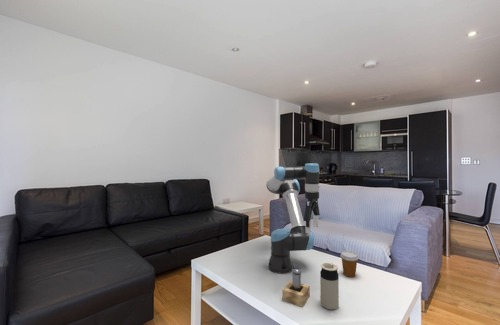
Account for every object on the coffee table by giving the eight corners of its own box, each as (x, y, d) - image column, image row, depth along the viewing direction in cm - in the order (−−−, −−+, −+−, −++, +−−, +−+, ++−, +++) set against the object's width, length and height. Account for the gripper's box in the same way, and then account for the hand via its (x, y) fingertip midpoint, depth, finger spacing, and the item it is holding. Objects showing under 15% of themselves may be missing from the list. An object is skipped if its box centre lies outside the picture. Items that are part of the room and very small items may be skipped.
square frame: (282, 299, 111) (282, 289, 111) (290, 290, 119) (290, 280, 119) (302, 306, 105) (302, 296, 105) (309, 295, 114) (309, 285, 114)
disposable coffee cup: (360, 279, 129) (360, 258, 129) (342, 277, 131) (342, 256, 131) (356, 271, 139) (355, 251, 139) (339, 270, 141) (339, 250, 140)
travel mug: (323, 310, 103) (323, 270, 103) (318, 299, 111) (318, 262, 111) (341, 310, 103) (341, 270, 103) (334, 299, 111) (334, 262, 111)
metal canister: (291, 298, 112) (290, 270, 112) (294, 294, 115) (294, 266, 115) (299, 301, 110) (299, 272, 109) (302, 297, 113) (302, 268, 113)
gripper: (311, 194, 114) (311, 237, 115) (324, 189, 136) (324, 225, 136) (297, 193, 118) (297, 234, 119) (312, 188, 140) (312, 223, 140)
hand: (312, 229), depth 127 cm, fingers open, 13 cm apart
